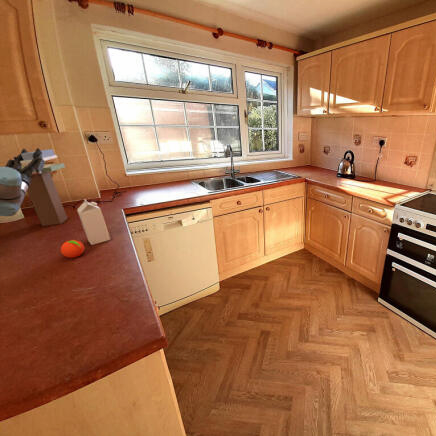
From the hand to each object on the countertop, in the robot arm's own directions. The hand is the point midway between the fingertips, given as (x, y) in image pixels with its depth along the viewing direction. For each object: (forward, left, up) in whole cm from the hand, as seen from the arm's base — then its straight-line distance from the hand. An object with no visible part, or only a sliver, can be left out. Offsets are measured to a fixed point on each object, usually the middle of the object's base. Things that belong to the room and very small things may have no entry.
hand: (32, 151), depth 115 cm
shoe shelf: (-4, +6, -38) cm, 38 cm away
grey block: (+1, +3, -5) cm, 6 cm away
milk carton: (+20, -35, -38) cm, 55 cm away
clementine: (+14, -48, -38) cm, 63 cm away
